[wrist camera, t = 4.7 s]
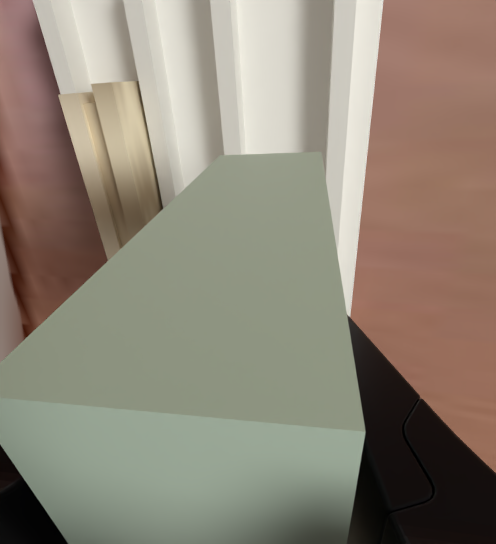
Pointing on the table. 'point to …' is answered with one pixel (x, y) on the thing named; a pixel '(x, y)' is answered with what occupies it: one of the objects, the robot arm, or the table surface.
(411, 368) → the table surface
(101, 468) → the sage green block
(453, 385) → the table surface
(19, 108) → the table surface
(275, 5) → the slot rack
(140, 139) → the offcut bundle
